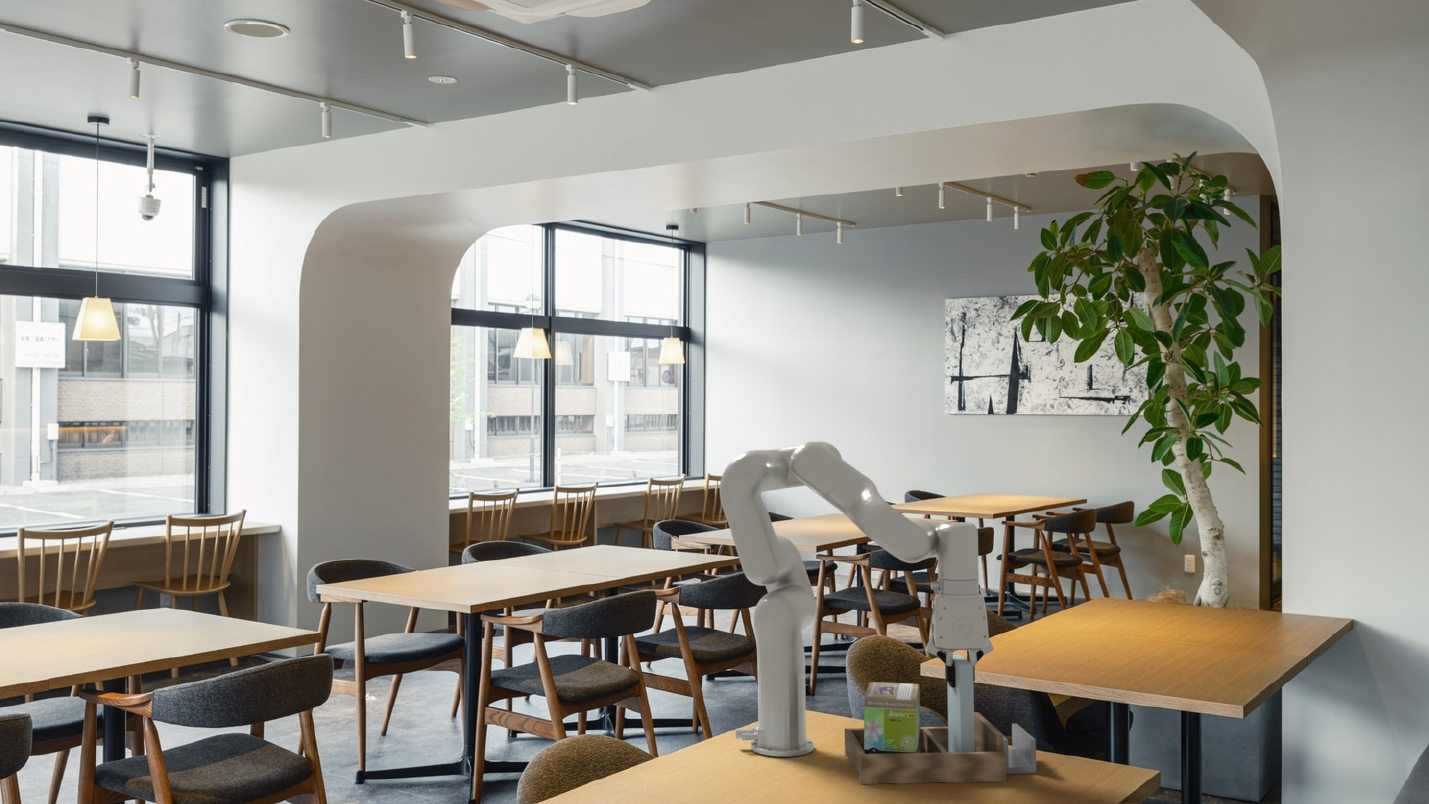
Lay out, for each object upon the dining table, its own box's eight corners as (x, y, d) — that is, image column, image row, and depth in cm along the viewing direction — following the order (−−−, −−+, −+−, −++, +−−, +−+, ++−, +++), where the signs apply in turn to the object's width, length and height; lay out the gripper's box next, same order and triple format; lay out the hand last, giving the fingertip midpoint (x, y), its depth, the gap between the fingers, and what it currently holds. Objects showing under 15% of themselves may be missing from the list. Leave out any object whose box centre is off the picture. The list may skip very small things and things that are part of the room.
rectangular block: (961, 774, 212) (959, 664, 213) (948, 759, 222) (946, 654, 223) (975, 774, 212) (973, 664, 213) (961, 759, 222) (959, 654, 223)
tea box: (918, 781, 209) (917, 698, 209) (863, 778, 211) (861, 696, 211) (921, 758, 223) (919, 681, 224) (868, 756, 225) (867, 680, 226)
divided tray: (861, 784, 207) (860, 739, 207) (844, 754, 227) (844, 713, 227) (1006, 781, 208) (1005, 736, 208) (977, 751, 228) (976, 710, 228)
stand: (1004, 774, 212) (1003, 740, 212) (986, 756, 224) (985, 724, 224) (1036, 773, 212) (1035, 739, 213) (1017, 755, 224) (1016, 723, 225)
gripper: (920, 591, 215) (921, 691, 214) (1006, 589, 215) (1008, 689, 214) (912, 586, 222) (913, 682, 221) (995, 584, 223) (997, 681, 222)
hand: (960, 685), depth 218 cm, fingers closed on rectangular block, 2 cm apart
